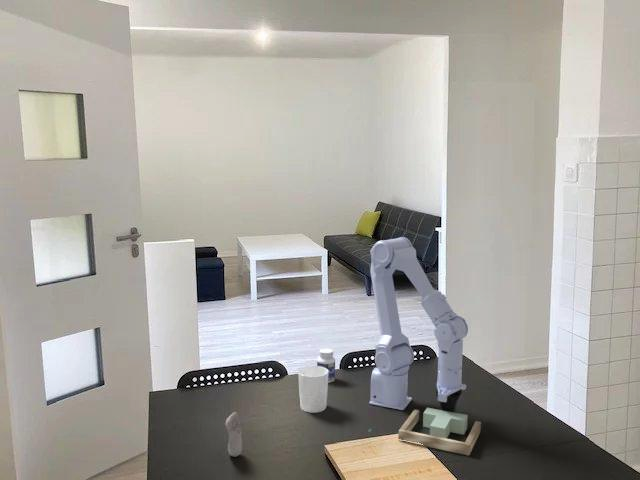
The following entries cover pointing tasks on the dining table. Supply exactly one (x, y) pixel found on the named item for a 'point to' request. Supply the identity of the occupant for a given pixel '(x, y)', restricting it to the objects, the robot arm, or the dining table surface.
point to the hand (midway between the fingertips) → (448, 418)
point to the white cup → (313, 388)
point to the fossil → (234, 434)
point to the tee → (444, 422)
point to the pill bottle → (327, 362)
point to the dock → (435, 441)
